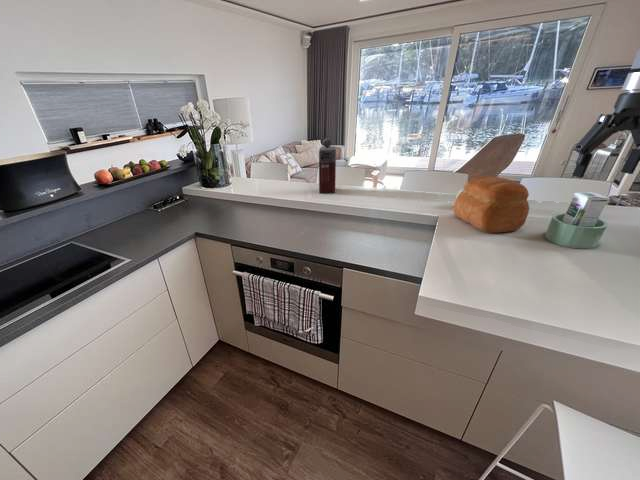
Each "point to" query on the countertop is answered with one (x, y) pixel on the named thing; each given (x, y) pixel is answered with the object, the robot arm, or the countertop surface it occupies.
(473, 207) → the bread
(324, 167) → the glass liquor decanter
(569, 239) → the crock
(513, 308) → the countertop surface
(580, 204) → the syrup box
